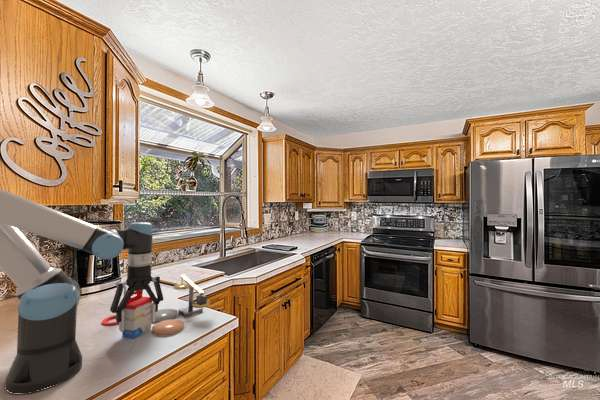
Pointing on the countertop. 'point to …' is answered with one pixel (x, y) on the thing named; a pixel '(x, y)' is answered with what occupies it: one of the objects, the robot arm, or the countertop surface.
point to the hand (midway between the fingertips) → (137, 325)
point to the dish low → (168, 327)
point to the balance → (200, 299)
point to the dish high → (165, 315)
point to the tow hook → (111, 317)
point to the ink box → (137, 315)
